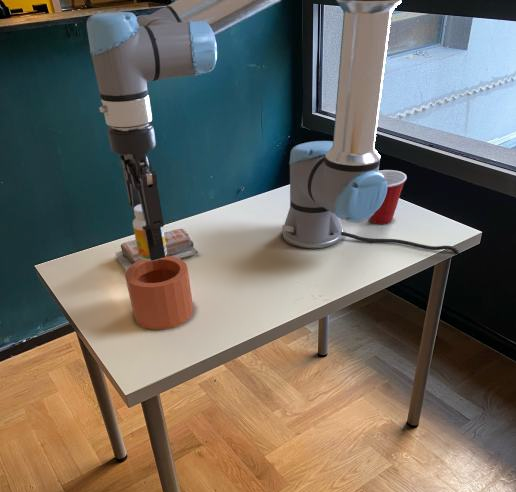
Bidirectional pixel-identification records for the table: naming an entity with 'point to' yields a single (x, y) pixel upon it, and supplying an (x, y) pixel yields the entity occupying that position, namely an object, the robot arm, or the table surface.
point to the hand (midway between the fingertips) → (152, 251)
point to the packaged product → (175, 244)
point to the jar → (160, 292)
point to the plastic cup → (389, 196)
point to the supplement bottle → (143, 234)
